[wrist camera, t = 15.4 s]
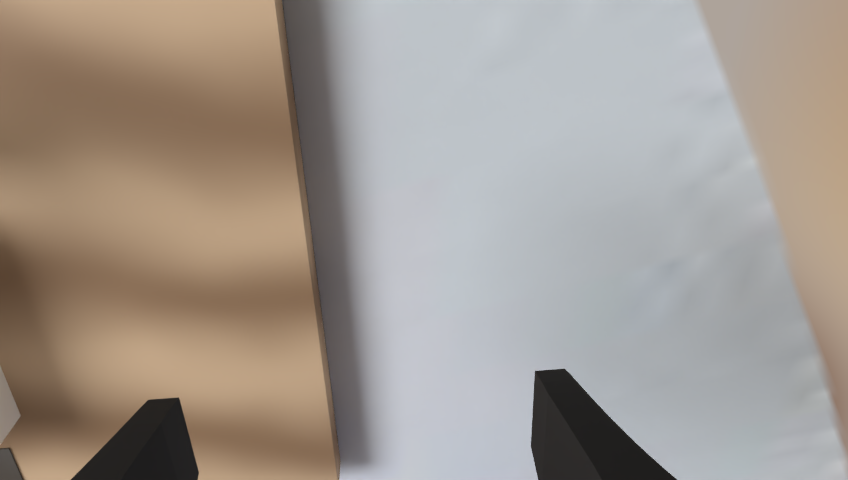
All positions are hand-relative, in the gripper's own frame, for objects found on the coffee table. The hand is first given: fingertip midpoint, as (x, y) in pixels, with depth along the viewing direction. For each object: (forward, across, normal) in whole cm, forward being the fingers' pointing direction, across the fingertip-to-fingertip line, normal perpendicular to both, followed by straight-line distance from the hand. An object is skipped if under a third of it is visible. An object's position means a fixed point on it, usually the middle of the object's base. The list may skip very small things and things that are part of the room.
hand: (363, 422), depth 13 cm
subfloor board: (+10, +12, +2) cm, 16 cm away
